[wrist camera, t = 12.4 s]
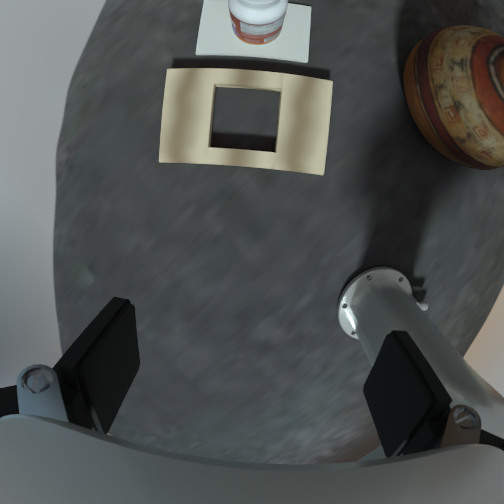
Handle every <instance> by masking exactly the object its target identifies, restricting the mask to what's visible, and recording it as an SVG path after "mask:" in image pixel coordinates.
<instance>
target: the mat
mask: <svg viewBox="0 0 504 504" xmlns="http://www.w3.org/2000/svg"><path fill="white" fill-rule="evenodd" d="M310 20H311V7H310V6H304V5H297V4H290V3H288V7H287V11H286V14H285V18H284V22H283V26H282V30H281V32H280V34H279V36H278V37H277V38H276V39H275V40H274V41H272V42H271V43H268V44H265V45H250V44H246V43H244V42H242V41H241V40H239V39H238V38H237V37H236V35H235V34H234V31H233V28H232V23H231V18H230V12H229V7H228V0H204V4H203V9H202V15H201V21H200V27H199V34H198V40H197V47H196V55H230V56H248V57H261V58H272V59H281V60H289V61H296V62H303V63H307V62H308V52H309V37H310Z"/></svg>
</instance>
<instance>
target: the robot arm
mask: <svg viewBox="0 0 504 504" xmlns="http://www.w3.org/2000/svg"><path fill="white" fill-rule="evenodd" d="M427 309H428V303H427V302H417V301H416V300H415V298H414V297H413V296H412V289H411V285H410V283H409V281H408V280H407V278H406V277H405V276H404V275H403V274H402V273H401V272H399V271H398V270H396V269H394V268H390V267H375V268H372V269H369V270H366V271H364V272H362V273H360V274H359V275H358V276H356V277H355V278H354V279H353V280H352V281H351V282H350V283H349V284H348V285H347V286H346V288H345V289H344V290H343V292H342V294H341V296H340V299H339V302H338V307H337V315H338V320H339V322H340V325H341V327H342V329H343V330H344V331H345V332H346V333H347V334H348V335H349V336H351V337H353V338H356V339H359V340H360V342H361V345H362V347H363V349H364V351H365V353H366V355H367V357H368V359H369V361H370V363H371V365H372V369H371V371H370V374H369V376H368V378H367V380H366V382H365V384H364V388H363V392H364V395H365V398H366V401H367V404H368V406H369V409H370V412H371V415H372V418H373V421H374V424H375V427H376V429H377V432H378V435H379V438H380V441H381V444H382V445H381V446H380V447H378V448H376V449H375V450H374V451H372V452H370V453H369V454H367V455H366V456H364V457H363V458H361V459H360V460H359V461H358V462H347V463H333V464H306V465H288V464H261V463H247V462H236V461H227V460H219V459H211V458H204V457H198V456H192V455H186V454H181V453H176V452H171V451H166V450H162V449H158V448H153V447H149V446H145V445H142V444H138V443H134V442H130V441H126V440H123V439H119V438H116V437H113V436H109V435H106V434H107V433H108V431H109V429H110V427H111V425H112V423H113V421H114V419H115V417H116V415H117V412H118V410H119V408H120V406H121V404H122V402H123V400H124V398H125V396H126V394H127V392H128V390H129V388H130V386H131V384H132V382H133V380H134V378H135V376H136V374H137V372H138V369H139V366H140V358H139V349H138V340H137V330H136V318H135V307H134V305H133V304H131V303H130V300H128V299H123V298H118V297H114V298H112V300H111V301H110V302H109V303H108V304H107V305H106V306H105V307H104V308H103V309H102V311H101V312H100V313H99V314H98V315H97V316H96V317H95V319H94V320H93V321H92V322H91V323H90V324H89V325H88V327H87V328H86V329H85V330H84V331H83V332H82V333H81V334H80V336H79V337H78V338H77V339H76V340H75V342H74V343H73V344H72V345H71V346H70V348H69V349H68V350H67V351H66V352H65V354H64V355H63V356H62V357H61V359H60V360H59V361H58V362H57V364H56V365H55V366H54V367H53V368H51V367H49V366H47V365H42V364H38V365H37V364H36V365H31V366H28V367H27V368H25V369H23V370H22V371H21V372H20V374H19V376H18V378H17V385H14V386H10V387H5V388H0V504H504V398H503V397H502V395H501V394H499V393H498V392H497V391H496V390H495V389H494V388H493V387H492V386H491V385H490V384H488V383H487V382H486V381H485V380H484V379H483V378H482V377H481V376H480V375H479V374H478V373H477V372H476V371H475V370H473V369H472V368H471V366H469V364H468V363H467V362H466V361H465V360H464V358H463V357H462V356H461V355H460V354H459V353H458V352H457V350H456V349H455V348H454V347H453V346H452V344H451V343H450V342H449V341H448V340H447V339H446V337H445V336H444V335H443V334H442V333H441V331H440V330H439V329H438V328H437V327H436V325H435V324H434V323H433V322H432V321H431V320H430V319H429V315H428V314H425V313H424V312H423V311H422V310H427ZM103 433H104V434H103Z"/></svg>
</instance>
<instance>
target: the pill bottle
mask: <svg viewBox="0 0 504 504" xmlns="http://www.w3.org/2000/svg"><path fill="white" fill-rule="evenodd" d="M228 7H229V12H230V18H231V23H232V28H233V31H234V34H235V35H236V37H237V38H238V39H239V40H241V41H242V42H244V43H246V44H250V45H265V44H268V43H271V42H272V41H274V40H275V39H276V38H277V37H278V36H279V34H280V32H281V30H282V26H283V22H284V18H285V14H286V11H287V7H288V0H228Z"/></svg>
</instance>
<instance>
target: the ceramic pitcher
mask: <svg viewBox="0 0 504 504" xmlns="http://www.w3.org/2000/svg"><path fill="white" fill-rule="evenodd" d="M403 84H404V91H405V97H406V100H407V103H408V106H409V110H410V113H411V115H412V117H413V119H414V121H415V123H416V125H417V127H418V129H419V130H420V131H421V133H422V134H423V136H424V137H425V138H426V140H427V141H428V142H429V143H430V144H431V145H432V146H433V147H434V148H435V149H436V150H438V151H439V152H440V153H441V154H443V155H444V156H446V157H447V158H449V159H451V160H453V161H455V162H457V163H459V164H462V165H464V166H467V167H471V168H475V169H480V170H491V169H495V168H499V167H502V166H504V37H502V36H501V35H499V34H497V33H495V32H492V31H490V30H488V29H484V28H480V27H475V26H465V25H458V26H449V27H444V28H441V29H437V30H435V31H433V32H431V33H429V34H428V35H426V36H425V37H424V38H422V39H421V40H420V41H419V42H418V43H417V45H416V46H415V47H414V48H413V49H412V51H411V53H410V55H409V57H408V59H407V62H406V64H405V68H404V74H403Z"/></svg>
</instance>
